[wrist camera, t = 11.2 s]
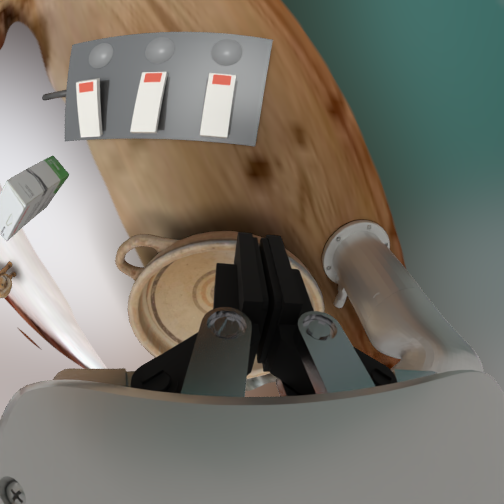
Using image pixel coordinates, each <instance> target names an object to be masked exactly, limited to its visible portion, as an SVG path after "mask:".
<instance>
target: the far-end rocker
mask: <svg viewBox="0 0 504 504" xmlns="http://www.w3.org/2000/svg"><path fill="white" fill-rule="evenodd" d="M235 79H236V75H229V74H217V73H209V78H208V84H207V90H206V96H205V102H204V109H203V115H202V122H201V129H200V136H207V137H219V138H227V135H228V128H229V120H230V113H231V106H232V99H233V92H234V86H235Z"/></svg>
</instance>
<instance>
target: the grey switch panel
mask: <svg viewBox="0 0 504 504" xmlns="http://www.w3.org/2000/svg"><path fill="white" fill-rule="evenodd" d="M272 41H273V40H270V39H264V38H258V37H251V36H243V35H234V34H222V33H206V32H160V33H144V34H133V35H124V36H117V37H110V38H104V39H98V40H93V41H88V42H83V43H78V44H74V45H72V51H71V57H70V64H69V72H68V81H67V90H63V91H58V92H53V93H49V94H45V95H43V97H42V99H43V100H49V99H54V98H60V97H66V108H65V141H74V140H90V139H118V138H150V139H179V140H196V141H209V142H220V143H230V144H239V145H248V146H255V144H256V138H257V132H258V125H259V119H260V113H261V107H262V101H263V94H264V88H265V82H266V76H267V70H268V65H269V59H270V53H271V47H272ZM142 72H167V74H168V76H167V80H166V85H165V90H164V95H163V100H162V105H161V111H160V116H159V122H158V128H157V133H131V132H130V130H131V124H132V118H133V113H134V108H135V103H136V98H137V93H138V88H139V84H140V80H141V76H142ZM209 73H217V74H229V75H236V79H235V86H234V92H233V99H232V106H231V113H230V120H229V128H228V135H227V138H219V137H207V136H200V129H201V122H202V115H203V109H204V102H205V96H206V90H207V84H208V78H209ZM97 78H100V103H101V119H102V131H103V134H102V135H101V136H99V137H81V135H80V127H79V118H78V107H77V93H76V82H78V81H83V80H90V79H97Z"/></svg>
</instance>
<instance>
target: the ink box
mask: <svg viewBox="0 0 504 504" xmlns="http://www.w3.org/2000/svg"><path fill="white" fill-rule="evenodd" d="M68 176H69V174H68V172H67V171H66V170H65V169H64V168H63V166H62V165H61V164H60V163H59V162H58V160H57V159H56V158H55V157H54V156H51V157H49V158H47V159H45V160H43V161H41V162H39V163H38V164H35V165H34V166H32V167H30V168H28V169H26V170H24V171H23V172H21V173H19V174H17V175H15V176H14V177H12V178H10V179H9V180H7V181H6V183H5V185H4V187H3V189H2V191H1V193H0V234H1V236H2V237H3V238H4V239H5V240H6V241H8V240H9V239H10V238H11V237H12V236H13V235H14V234H15V233H17V232H18V231H19V230H20V229H21V228H22V227H23V226H24V225H26V224H27V223H28V222H29V221H30V220H31V219H33V218H34V217H35V216H36V215H37V214H38V213H40V212H41V211H42V210H44V209H45V208H46V207H47V206H48V204H49V203H50V201H51V200H52V198H53V197H54V195H55V194H56V193H57V191H58V190H59V188H60V187H61V186H62V184H63V183H64V181H65V180H66V179H67V178H68Z"/></svg>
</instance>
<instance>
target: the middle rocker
mask: <svg viewBox="0 0 504 504" xmlns="http://www.w3.org/2000/svg"><path fill="white" fill-rule="evenodd" d="M167 76H168V74H167V72H142V76H141V80H140V84H139V88H138V93H137V98H136V103H135V108H134V113H133V118H132V124H131V130H130V132H131V133H157V128H158V122H159V116H160V111H161V105H162V100H163V95H164V90H165V85H166V80H167Z"/></svg>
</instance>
